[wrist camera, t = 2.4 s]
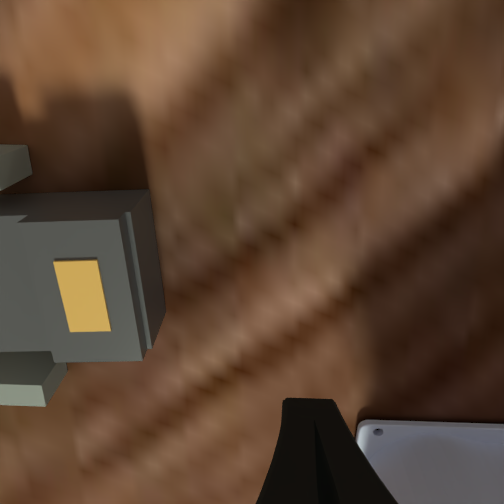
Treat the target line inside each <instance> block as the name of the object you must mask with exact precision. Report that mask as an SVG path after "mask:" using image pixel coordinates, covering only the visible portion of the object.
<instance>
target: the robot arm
mask: <svg viewBox="0 0 504 504" xmlns="http://www.w3.org/2000/svg"><path fill="white" fill-rule="evenodd" d="M375 429H379V430H375ZM256 504H504V424H485V423H455V422H425V421H395V420H364V421H361V422H360V423H359V425H358V428H357V434H356V440H355V439H354V437H353V435H352V433H351V432H350V430H349V428H348V426H347V425H346V423H345V421H344V419H343V417H342V415H341V413H340V411H339V409H338V407H337V405H336V403H335V402H334V401H333V400H332V399H311V398H286V399H285V400H283V403H282V420H281V428H280V433H279V437H278V441H277V445H276V448H275V452H274V455H273V459H272V462H271V465H270V468H269V471H268V473H267V476H266V479H265V482H264V484H263V487H262V490H261V492H260V495H259V497H258V500H257V502H256Z"/></svg>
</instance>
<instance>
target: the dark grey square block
mask: <svg viewBox="0 0 504 504" xmlns="http://www.w3.org/2000/svg"><path fill="white" fill-rule="evenodd" d="M165 313H166V308H165V301H164V293H163V286H162V279H161V271H160V264H159V257H158V250H157V242H156V235H155V228H154V220H153V213H152V206H151V199H150V191H149V189H141V190H112V191H84V192H55V193H26V194H0V352H22V351H51V352H52V356H53V360H54V363H60V362H111V361H143V358H144V356H145V353H146V351H147V349H152V348H153V345H154V342H155V340H156V337H157V334H158V332H159V329H160V326H161V324H162V321H163V318H164V316H165Z"/></svg>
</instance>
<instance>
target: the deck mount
mask: <svg viewBox="0 0 504 504" xmlns="http://www.w3.org/2000/svg"><path fill="white" fill-rule="evenodd" d="M30 175H32V168H31V163H30V157H29V151H28V146H27V145H2V144H0V191H1V190H3V189H5V188H7V187H9V186H11V185H13V184H15V183H17V182H18V181H20V180H22V179H24V178H26V177H28V176H30ZM66 373H67V365H66V362H60V363H54V360H53V356H52V352H51V351H22V352H0V405H19V406H47V404H48V402H49V401H50V399H51V397H52V396H53V394H54V393H55V391H56V389H57V388H58V386H59V384H60V383H61V381H62V380H63V378H64V376H65V375H66Z"/></svg>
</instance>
